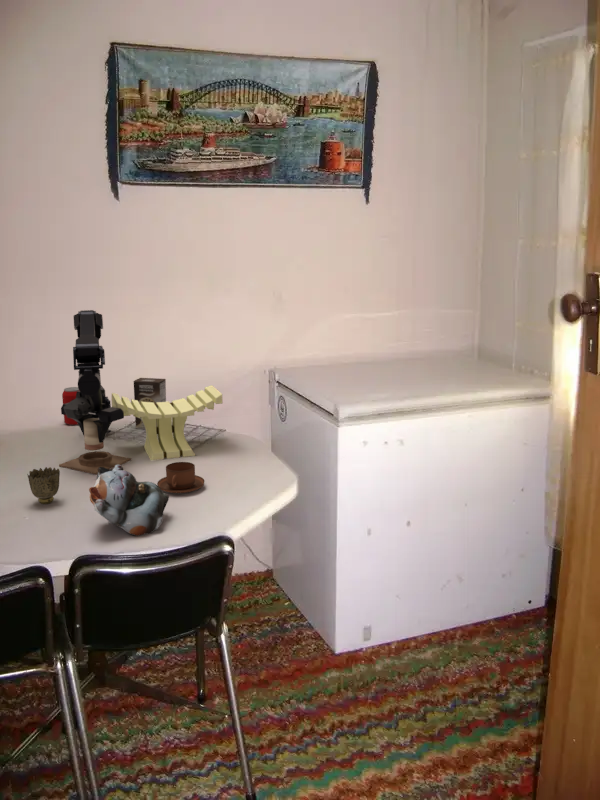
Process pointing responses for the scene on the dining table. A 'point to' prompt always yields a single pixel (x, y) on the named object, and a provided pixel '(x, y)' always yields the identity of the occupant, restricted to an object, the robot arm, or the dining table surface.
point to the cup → (44, 484)
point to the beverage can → (67, 397)
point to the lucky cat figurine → (128, 501)
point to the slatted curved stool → (168, 421)
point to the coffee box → (149, 394)
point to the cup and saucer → (180, 478)
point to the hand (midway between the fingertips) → (94, 440)
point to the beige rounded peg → (91, 435)
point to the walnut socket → (94, 462)
